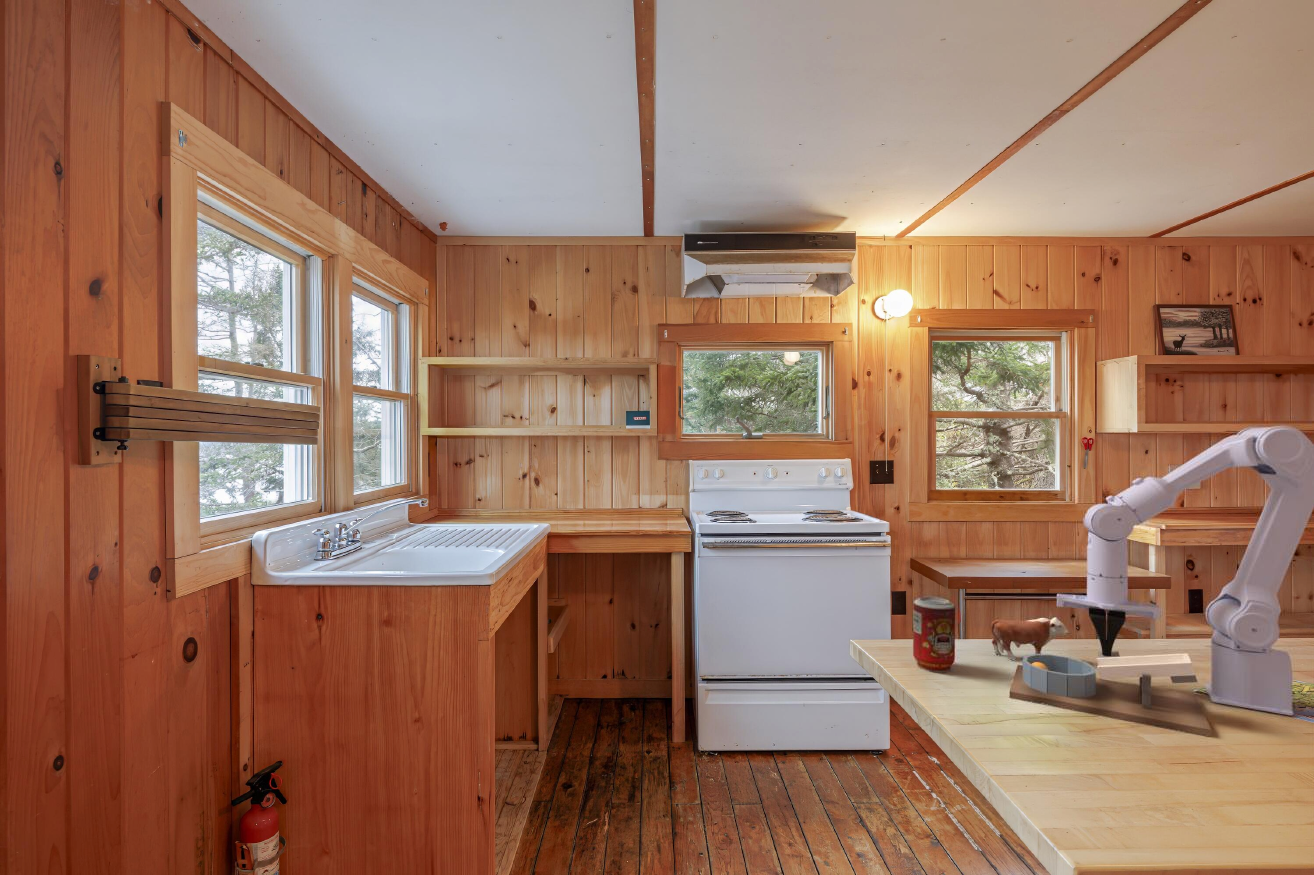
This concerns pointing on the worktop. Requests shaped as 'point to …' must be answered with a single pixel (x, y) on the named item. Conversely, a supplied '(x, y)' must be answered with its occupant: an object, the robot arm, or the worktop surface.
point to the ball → (1040, 665)
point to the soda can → (934, 633)
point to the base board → (1126, 703)
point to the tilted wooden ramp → (1147, 666)
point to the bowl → (1060, 675)
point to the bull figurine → (1025, 633)
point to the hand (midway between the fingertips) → (1106, 654)
